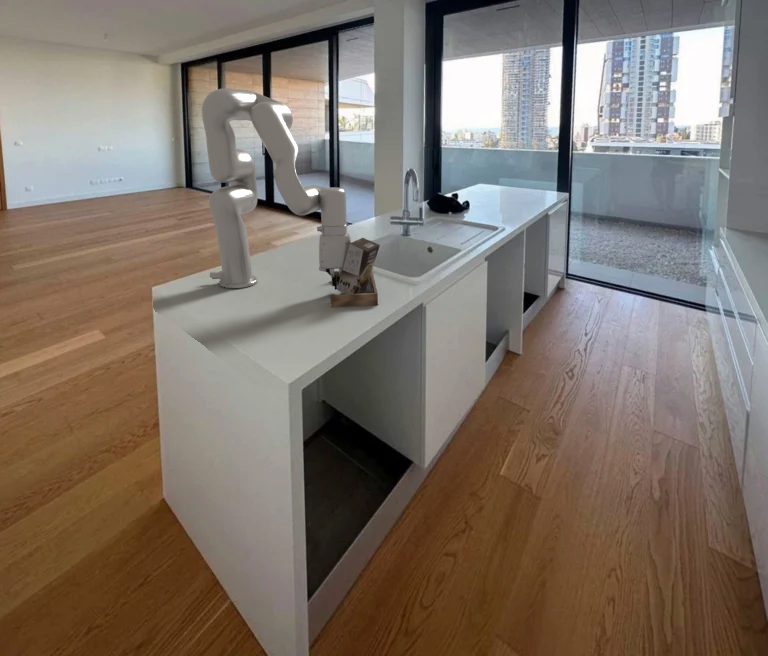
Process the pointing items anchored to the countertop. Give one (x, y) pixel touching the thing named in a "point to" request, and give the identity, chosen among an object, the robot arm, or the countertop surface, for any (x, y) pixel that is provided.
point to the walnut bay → (356, 297)
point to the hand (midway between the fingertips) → (337, 288)
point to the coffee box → (358, 266)
